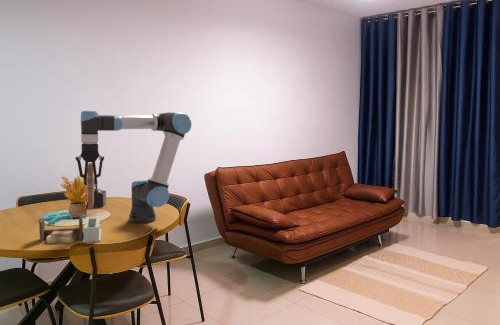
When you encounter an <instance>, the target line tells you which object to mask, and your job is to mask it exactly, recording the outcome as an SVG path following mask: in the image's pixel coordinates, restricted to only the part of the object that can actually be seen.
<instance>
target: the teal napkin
mask: <svg viewBox="0 0 500 325" xmlns="http://www.w3.org/2000/svg"><path fill="white" fill-rule="evenodd" d="M68 212H69V211H53V212H46V213H45V214H44V215H42V216H40V217H39V219H38V220H39V221H40V220H41V219H42V218H44V221H46V222H48V223H47V224H48V225H49V226H52V225H51V224H53V225H55V224H56V223H55V222H57V221H58V222H60V221H61V219H63V220H67V219H66V218H68V219H69V218H70V219H69V220H72V219H71V216H70V215H69V213H68ZM82 215H83V216H82V218H85V219H86V215H85V214H82ZM50 220H51V221H50Z"/></svg>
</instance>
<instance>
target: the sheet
mask: <svg viewBox="0 0 500 325" xmlns="http://www.w3.org/2000/svg"><path fill="white" fill-rule="evenodd" d="M93 178H94V172H93V164H92V162H88V166H87V180H88V192H87V193H88V207H87V209H89V210H90V209H93V208H94V207H93V204H94V192H93Z"/></svg>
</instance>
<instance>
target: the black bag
mask: <svg viewBox="0 0 500 325" xmlns="http://www.w3.org/2000/svg"><path fill="white" fill-rule="evenodd" d="M106 205H107V190H101V189H100V188H98V182H97V184H95V191H94V204H93V208H104V207H105V206H106ZM86 208H88V202H87V201H86Z"/></svg>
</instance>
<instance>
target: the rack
mask: <svg viewBox="0 0 500 325" xmlns="http://www.w3.org/2000/svg"><path fill="white" fill-rule="evenodd" d="M83 220H84V219H82V216H80V218H79V219H78V227H68V228H66V227H65V228H51V229H49V228H48V229H46V227H45V222H44V218H42V219H41V220H40V219H39V222H38V223H39V224H38V225H39V227H38V228H39V229H38V230H39V243H40V244H42V243H44V241H45V239H46V238H47V237H48V236H49V235H51V234H52V233H53V232H54V231H74V237H78V238H79V241H82V240H83V236H84V224H83Z"/></svg>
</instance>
